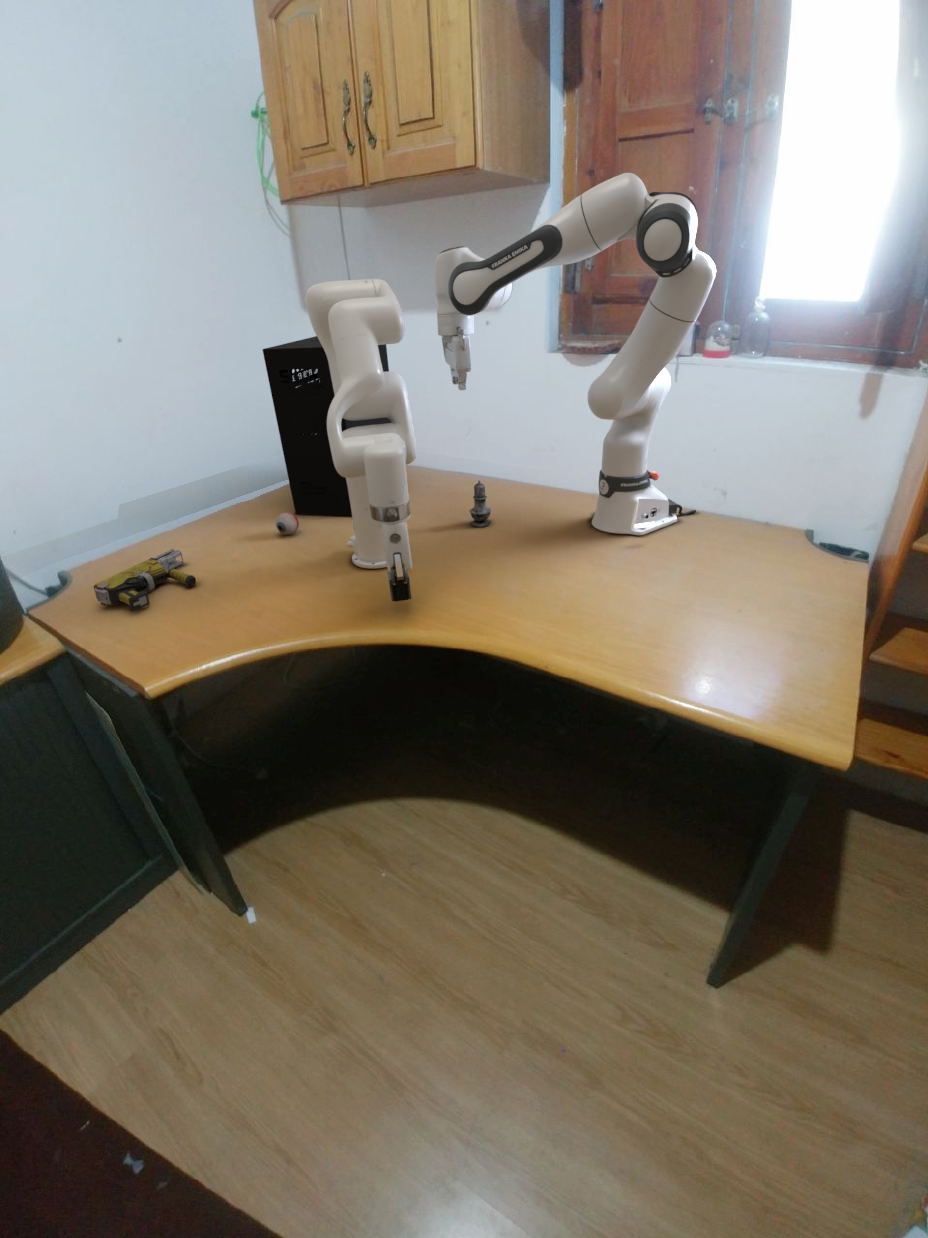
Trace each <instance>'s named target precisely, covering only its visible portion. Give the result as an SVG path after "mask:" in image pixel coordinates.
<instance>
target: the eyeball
mask: <svg viewBox="0 0 928 1238" xmlns="http://www.w3.org/2000/svg"><path fill="white" fill-rule="evenodd" d="M299 525H300V522H299V519H298V517H297V516H296V515H295V513H292V512H287V511H286V512H282V513H280V514H279V515H278V516H277V517H276V520H275V527H276V529H277V530H278V531H279V532H280V533H281V534H282V535H285V536H286V535H287V536H289V535H293V534H295V533H296V532H297V531H298V529H299Z"/></svg>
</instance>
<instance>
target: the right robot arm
mask: <svg viewBox="0 0 928 1238" xmlns="http://www.w3.org/2000/svg"><path fill="white" fill-rule="evenodd" d="M698 215H699V214H698V210H697V206H696V203H694V201H693V200H692V199H691V197H689V196H688V195H686V194H685V193H682V192H679V191H652V192H649V193H648V190H647V188H646V185H645V184H644V182H643V180H642V179H641V178H640V177H639V176H638V175H637V174H635V173H633V172H623V173H620V174H618V175H616V176H613V177H611V178H609V179H606V180H604V181H603V182H600V183H599V184H596V185H595V186H593V187H591V188H589V189H588V190H586V191H584V192H583V193H581V194H580V195H578V196H577V197H574V199H572V200H571V201H569V202H568V203H567V204H566V205H564V206H563V207H562V208H560V209H559V210H557V212H555V213H554V214H553V215H552V216H550V217H549V218H548V219H546V220H545V221H544V222H543V223H541V224H540V225H538V226H537V227H536V228H535V229H534V230H532V231H531V232H530V233H528V234H527V235H525V236H523V237H522V238H520V239H518V240H517V241H515V242H514V243H512V244H510V245H508V246H507V247H504V248H503V249H501V250H500V251H498V252H496V253H495V254H493V255H491V256H490V257H488V258H483V257H481V256H479V255H477V254H476V253H474V252H473V251H472V250H470V248H469V247H468V246H462V245H460V246H455V247H450V248H447V249H444V250H441V251H440V252H439V253H438V254H437V256H436V258H435V264H434V290H435V291H434V292H435V296H436V300H437V308H436V309H437V310H436V321H437V335H438V336H440V337H441V342H442V349H443V356H444V361H445V363H446V364H447V365H448V366H449V370H450V375H451V383H452V384H453V385H457V389H458V390H459V391H466V390H467V377H468V373H469V372H472V368H473V364H472V362H473V361H472V347H471V340H470V335H474V334H475V315H477V314H480V313H482V312H488V311H491V310H497V309H498V308H501V307H503V306H504V305H505V304H506V303H507V302H508V301H509V299H510V298H511V295H512V292H513V283H514V282H516V281H517V280H519V279H521V278H523V277H524V276H527V275H528V274H530V273H533V272H535V271H537V270H540V269H544V268H549V267H556V266H564V265H565V266H566V265H572V264H574V263H578V262H581V261H584V260H587V259H589V258H591V257H593V256H595V255H598V254H599V253H601V252H603V251H604V250H606V249H608V248H609V247H611V246H612V245H615V244H616V243H618V242H621V241H624V240H634V241H635V246H636V251H637V253H638V255H639V257H640V259H641V260H642V261H643V262H644V263H645V264H646V266H648V267H649V268H650V269H652V270H653V272H655V274H656V275H658V279H657V282H656V284H655V286H654V288H653V290H652V292H651V294H650V296H649V298H648V300H647V302H646V305H645V306H644V308H643V310H642V313H641V314H640V317H639V319H638V320H637V322H636V324H635V326H634V328H633V330H632V331H631V334H630V335H629V337H628V338H627V340H626V341H625V343H624V344H623V346H621V348H620V350H619V351H618V352H617V354H615V357H614V358H613V359H612V360H611V362H610V363H609V364H608V365H607V367H606V368H605V369H604V371H602V373H601V374H600V375H599V376H598V377H596V379H595V380H593V381H592V383H591V384H590V386H589V387H588V391H587V404H588V407H589V410H590V411H591V413H592V414H593V415H594V416H595V417H597V418H598V419H601V420H607V421H610V420H611V421H612V423H611V426H610V427H609V429H608V432H607V433H606V434H605V436H604V438H603V442H602V453H601V468H600V470H599V474H598V492H599V493H598V498H597V502H596V507H595V511H594V514H593V517H592V520H591V525H592V526H593V527H594V528H595V529H597V530H599V531H601V532H605V533H611V534H623V535H625V534H626V535H632V536H633V535H634V536H645V535H646V534H650V533H652V532H654V531H657V530H660V529H662V528H665V527H668V526H670V525H672V524H675V523H677V522H678V516H677V515H676V514H677V513H678V515H679V516H689V515H692V514H695V513H696V512H697V510H696V509H693V510H690V511H687V512H682V511H683V506H682V505H681V504H678V503H676V502H675V501H673V500H672V499H670V498H668V497H667V496H666V495H665V494H664V493H663V492H661V491H660V490H659V489H658V488H656V487H655V486H654V485H652V483H651V480H653V481H658V479H659V478H660V473H659V472H657V471H654V470H651V471H649V470H648V469H647V466H648V460H649V459H648V458H649V450H650V442H651V438H652V433H653V430H654V428H655V424H656V422H657V419H658V415H659V413H660V409H661V407H662V405H663V403H664V402H665V399H666V398H667V397H668V394H669V393H670V391H671V387H672V379H671V375H670V372H669V371H668V369H667V368H666V366H667V365H669V363H670V362H671V361H673V360H674V359H675V357H676V356H677V355H678V353H679V352H680V350H681V349H682V347H683V345H684V343H685V341H686V339H687V337H688V336H689V334H690V332H691V330H692V329H693V327H694V325H695V323H696V321H697V320H698V318H699V316H700V314H701V312H702V311H703V308H704V306H705V304H706V301H707V299H708V298H709V294H710V292H711V290H712V287H713V284H714V281H715V279H716V274H717V268H716V264H715V262H714V261H713V259H712V258H711V257H710V256H709V255H708V254H706V253H705V252H703V251H701V250H699V249H698V248H697V247H696V243H695V242H696V235H697V230H698V222H699V221H698V220H699V217H698Z"/></svg>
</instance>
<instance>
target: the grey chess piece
mask: <svg viewBox="0 0 928 1238" xmlns="http://www.w3.org/2000/svg"><path fill="white" fill-rule="evenodd" d="M481 481H482V480H480V479H479V480H478V481H477V483H476V484H474V486H473V491H474V492H473V494H474V495H473V496H472V499H473V501H474V505H473V508H471V509H469V513H470V516H471V518H472V519H473V520H472V521H471V522H470V524H471V526H473V527H477V528H479V527H480V528H482V527H487V526H490V525H491V521H490V520H489V517H490V516H491V512H492V509H491V508H490V507H488V506H487V501H486V499H487V495H486V486H485V484H483V483H481Z"/></svg>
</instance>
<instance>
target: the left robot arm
mask: <svg viewBox="0 0 928 1238" xmlns="http://www.w3.org/2000/svg"><path fill="white" fill-rule="evenodd" d="M305 305H306V311H307V315H308V318H309V321H310V324H311V327H312V329H313V331H314V333H315V336H317V337H318V339H319V341H320V343H321V345H322V347H323V349H324V351H325V353H326V356H327V359H328V363H329V369H330V374H331V379H332V385H333V390H334V395H335V396H334V398H333V400H332V402H331V405H330V407H329V410H328V415H327V433H328V438H329V443H330V449H331V454H332V459H333V463H334V466H335V469H336V471H337V472H338V473H339V474H340V475H341V476H342V477H345V478H346V481H347V487H348V493H349V499H350V505H351V511H352V516H351V518H352V525H353V531H354V535H350V538H349V540H348V541H347V543H346V544H347V547H349V548H353V550H354V553H353V554H352V555H351V561H352V563H353V565H355V566H356V567H359V568H362V569H370V570H371V569H373V570H374V569H376V570H377V569H383V568H387V572H391V573H392V581H393V583H391V584H392V592H393V600H394V603H397V602H402V601H409V600H410V599H409V590H408V582H407V580H406V572H405V569H407V571H408V570H409V571H412V570H413V567H414V566H413V561H412V551H411V544H410V536H409V530H408V524H407V523H408V522H407V521H408V520H410V519H411V517H412V514H411V505H410V495H409V485H408V473H407V465H411V464H412V463H414V462H415V460H416V459H417V454H418V448H417V439H416V433H415V428H414V422H413V416H412V415H413V414H412V410H411V404H410V397H409V392H408V389H407V385H406V382H405V380H404V378H403V376H402V375H401V374H399V373H398V372H396V371H390V370H389V371H387V372H383V368H382V364H381V360H380V354H379V349H378V345H384V344H386V345H394V344H399V343H401V342H402V340H403V339H404V336H405V331H406V330H405V329H406V328H405V318H404V313H403V310H402V306H401V304H400V303H399V299H398V298H397V296H396V294H395V293H394V291H393V290H392V288H391V287H390V285H389V283H388V282H387V281H386V280H384V279H381V278H364V279H362V278H361V279H344V280H329V281H323V282H318V283H315V284H313V285H312V286H310V287H309V288H307V291H306V294H305ZM384 417H386V418H389V419H390V420H391V422H392V423H385V424H377V425H375V424H374V425H366V426H358V427H352V428H349V429H346V430H345V431H343V432H342V429H341V421H342V418H344V419H346V420H353V421H355V420H367V419H376V418H384ZM394 573H396V575H395V574H394Z"/></svg>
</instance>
